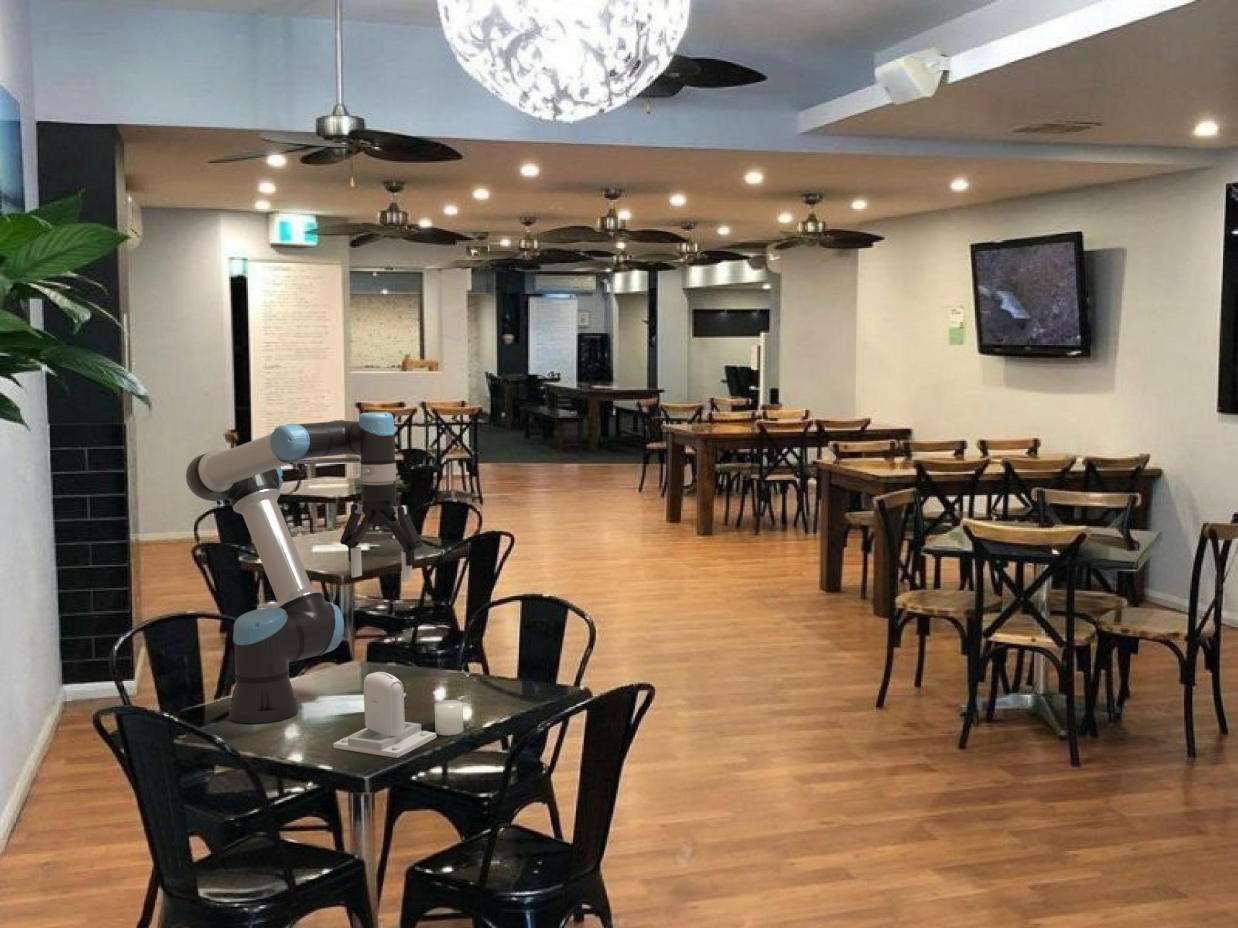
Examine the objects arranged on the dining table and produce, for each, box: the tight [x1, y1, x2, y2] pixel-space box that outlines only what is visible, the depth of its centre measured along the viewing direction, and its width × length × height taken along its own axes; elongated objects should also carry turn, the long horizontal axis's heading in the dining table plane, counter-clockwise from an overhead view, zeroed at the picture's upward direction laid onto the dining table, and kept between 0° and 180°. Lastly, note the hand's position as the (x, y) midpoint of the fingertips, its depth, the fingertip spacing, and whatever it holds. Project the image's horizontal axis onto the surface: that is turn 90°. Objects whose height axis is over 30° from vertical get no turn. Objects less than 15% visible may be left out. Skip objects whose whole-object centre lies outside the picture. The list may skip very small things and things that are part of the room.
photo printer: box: [363, 671, 406, 736], centre depth 249 cm, size 10×4×12 cm, turn 47°
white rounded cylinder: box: [434, 699, 464, 736], centre depth 257 cm, size 6×6×6 cm
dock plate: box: [332, 721, 437, 758], centre depth 249 cm, size 16×14×2 cm
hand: (381, 578), depth 264 cm, fingers open, 13 cm apart
